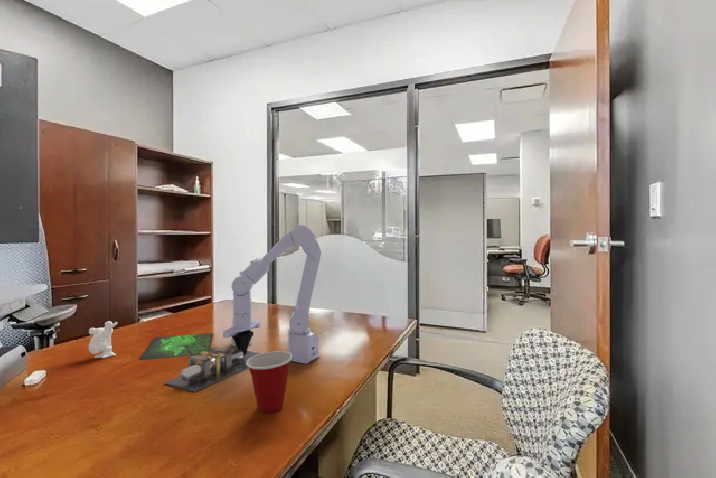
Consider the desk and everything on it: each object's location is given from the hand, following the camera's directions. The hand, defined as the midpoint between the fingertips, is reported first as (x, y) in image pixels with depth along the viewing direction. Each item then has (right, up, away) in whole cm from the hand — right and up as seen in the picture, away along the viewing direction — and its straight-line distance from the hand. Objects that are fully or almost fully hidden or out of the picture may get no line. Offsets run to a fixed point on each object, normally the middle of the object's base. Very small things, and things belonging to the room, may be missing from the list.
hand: (242, 354), depth 120 cm
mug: (-7, -2, +21) cm, 22 cm away
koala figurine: (-48, -2, +4) cm, 48 cm away
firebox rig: (-4, -2, -7) cm, 8 cm away
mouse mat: (-29, -3, +17) cm, 33 cm away
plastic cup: (+16, -3, -32) cm, 36 cm away
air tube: (-5, -1, -10) cm, 12 cm away
